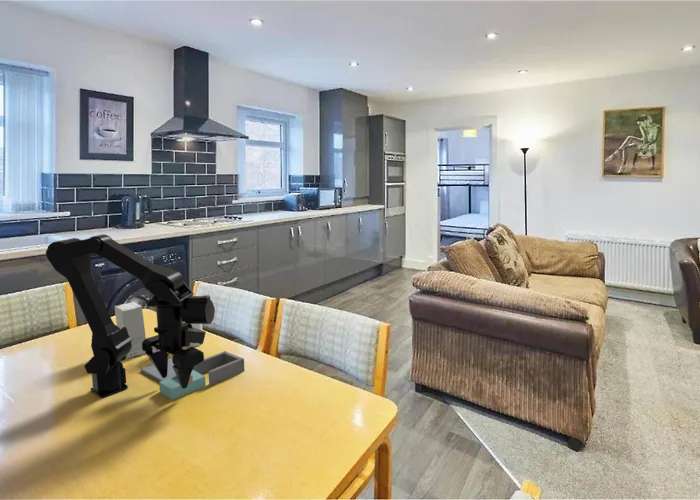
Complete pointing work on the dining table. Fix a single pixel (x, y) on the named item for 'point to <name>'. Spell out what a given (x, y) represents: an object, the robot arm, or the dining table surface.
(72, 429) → the dining table surface
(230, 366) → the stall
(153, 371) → the mat
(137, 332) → the skincare box
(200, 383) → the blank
